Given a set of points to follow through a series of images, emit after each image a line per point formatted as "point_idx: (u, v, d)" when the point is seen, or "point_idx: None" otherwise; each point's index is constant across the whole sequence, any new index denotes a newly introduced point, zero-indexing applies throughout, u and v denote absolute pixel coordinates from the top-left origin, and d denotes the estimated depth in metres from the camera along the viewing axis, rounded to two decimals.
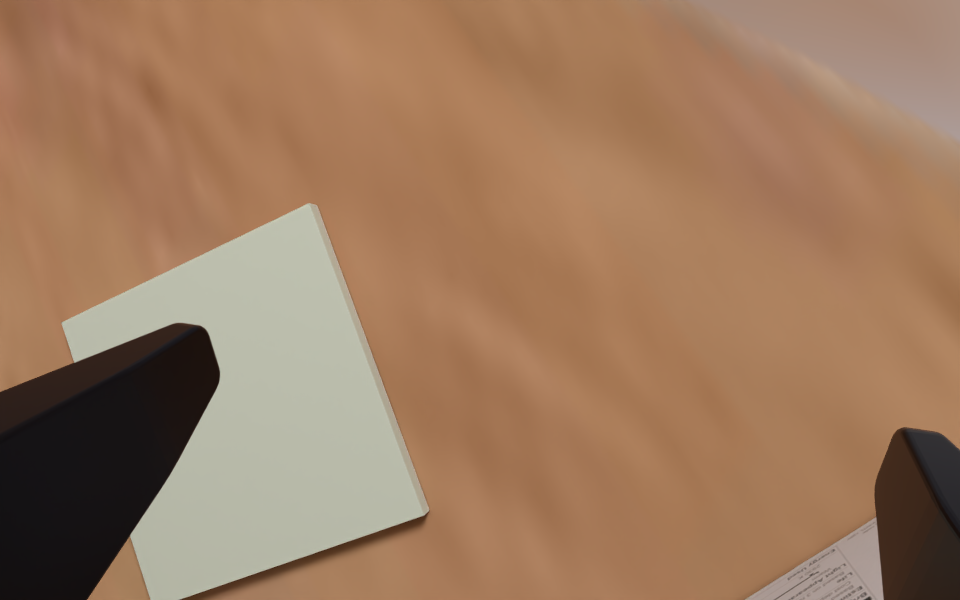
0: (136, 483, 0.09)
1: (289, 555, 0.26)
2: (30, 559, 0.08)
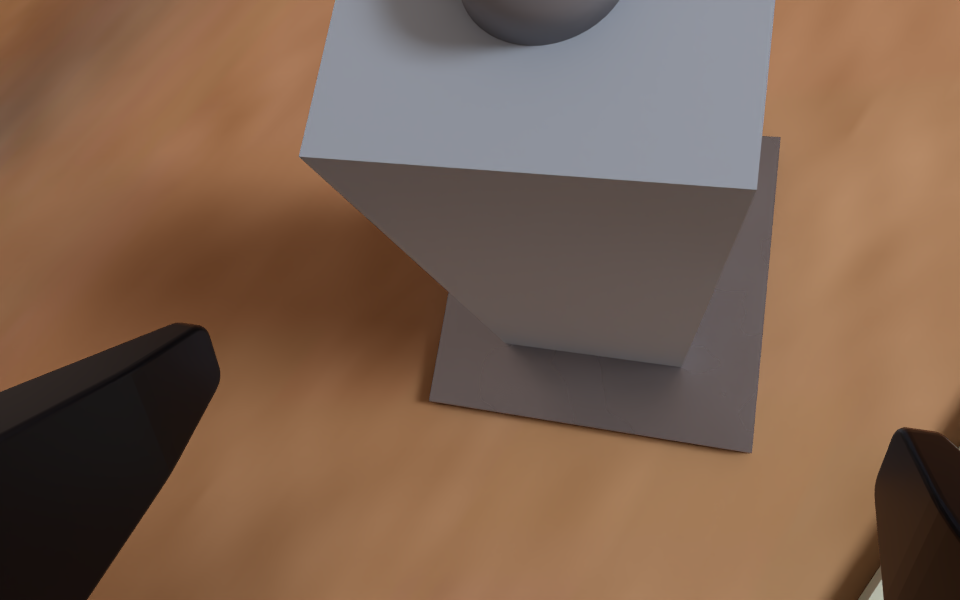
0: (136, 483, 0.09)
1: None
2: (30, 559, 0.08)
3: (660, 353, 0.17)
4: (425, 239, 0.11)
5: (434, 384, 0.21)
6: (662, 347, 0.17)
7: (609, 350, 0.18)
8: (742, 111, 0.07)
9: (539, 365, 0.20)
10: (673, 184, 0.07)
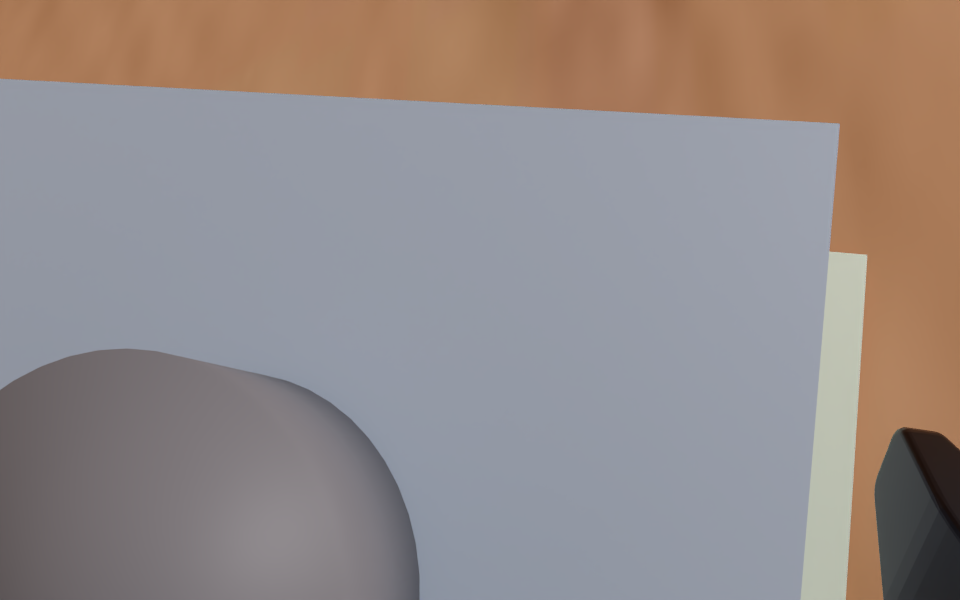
0: None
1: None
2: None
3: None
4: None
5: None
6: None
7: None
8: None
9: None
10: None
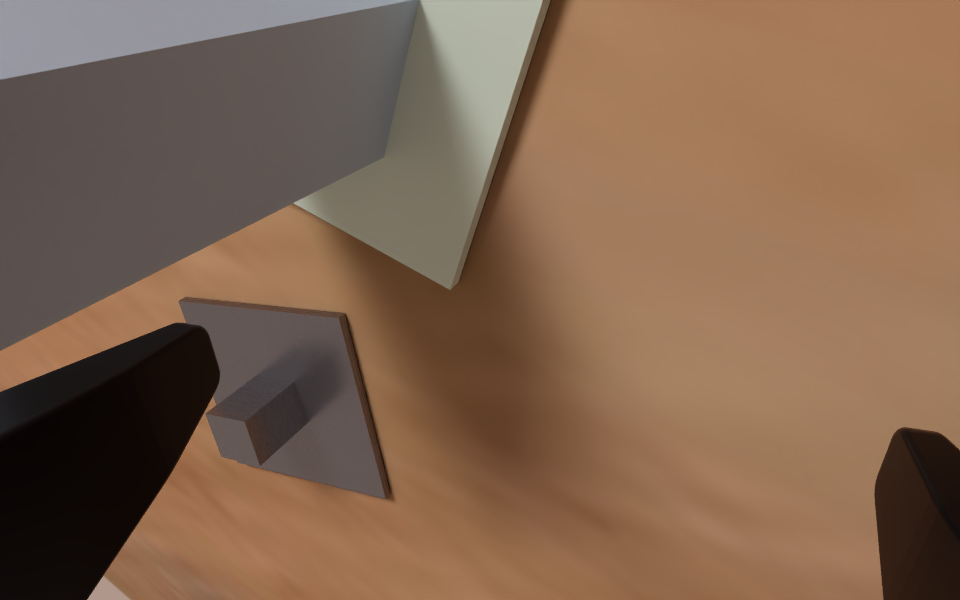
0: (136, 483, 0.09)
1: (500, 111, 0.20)
2: (30, 559, 0.08)
3: (375, 30, 0.18)
4: (114, 267, 0.14)
5: (376, 495, 0.31)
6: (354, 34, 0.17)
7: (380, 72, 0.19)
8: None
9: (342, 436, 0.30)
10: None
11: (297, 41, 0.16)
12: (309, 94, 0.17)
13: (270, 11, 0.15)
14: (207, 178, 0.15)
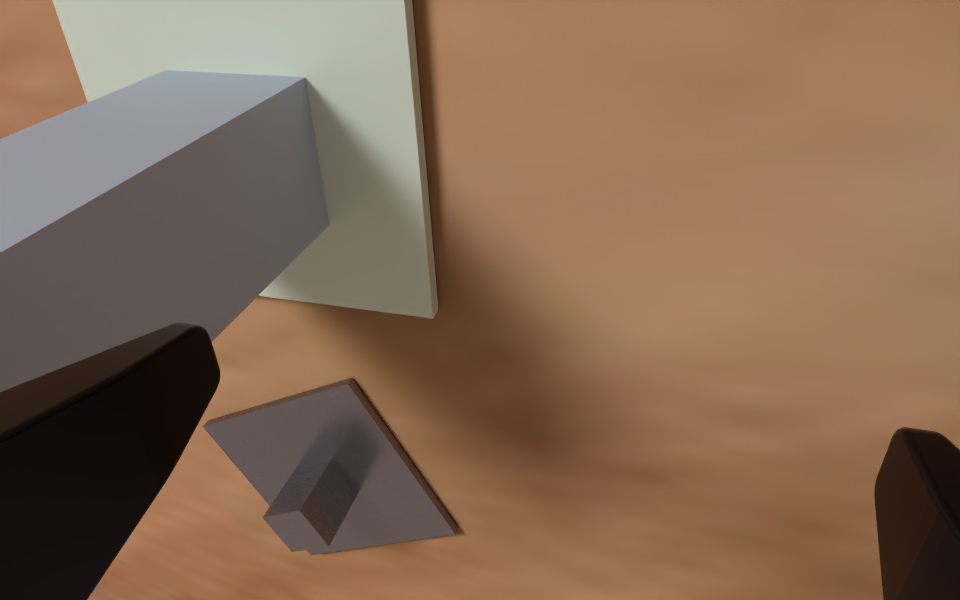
0: (136, 483, 0.09)
1: (411, 145, 0.21)
2: (30, 559, 0.08)
3: (275, 118, 0.20)
4: None
5: (445, 534, 0.32)
6: (258, 128, 0.19)
7: (295, 152, 0.21)
8: None
9: (394, 491, 0.31)
10: None
11: (209, 152, 0.17)
12: (238, 193, 0.19)
13: (176, 136, 0.17)
14: (174, 296, 0.17)
